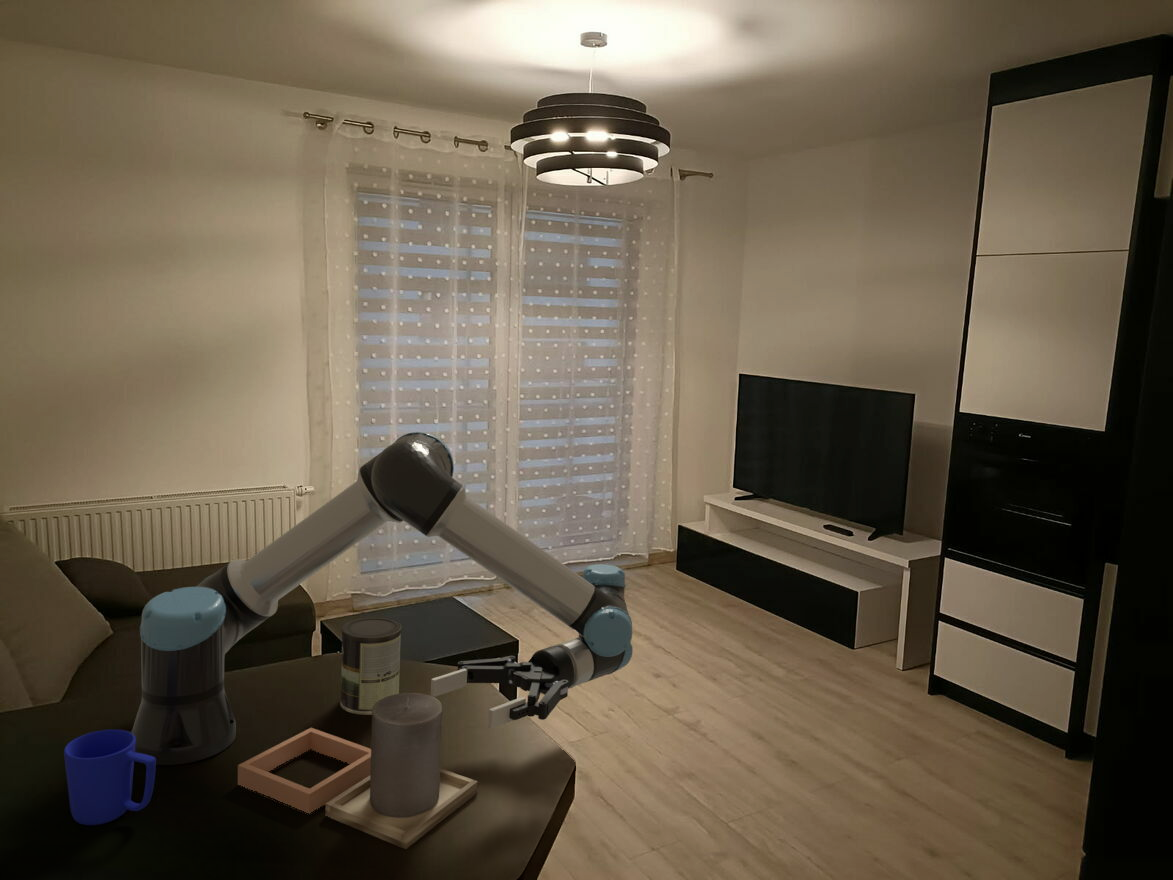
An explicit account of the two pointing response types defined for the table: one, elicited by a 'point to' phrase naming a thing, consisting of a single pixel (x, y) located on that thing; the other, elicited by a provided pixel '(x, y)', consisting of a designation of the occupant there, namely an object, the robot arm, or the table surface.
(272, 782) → the holder
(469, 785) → the tray
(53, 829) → the table surface
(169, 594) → the robot arm
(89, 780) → the mug
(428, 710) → the pillar candle
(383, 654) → the coffee can
